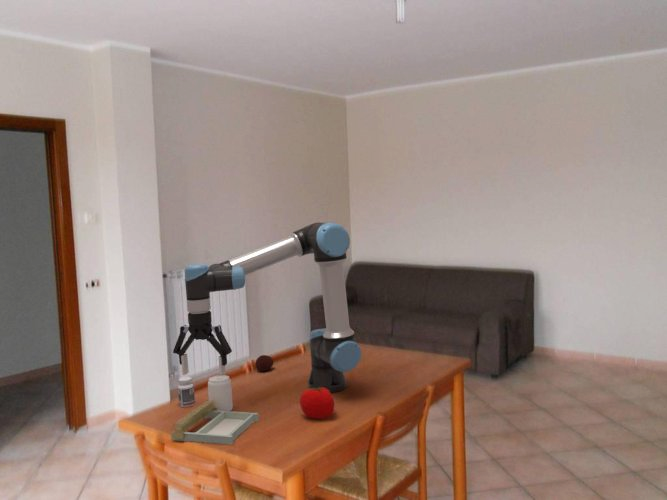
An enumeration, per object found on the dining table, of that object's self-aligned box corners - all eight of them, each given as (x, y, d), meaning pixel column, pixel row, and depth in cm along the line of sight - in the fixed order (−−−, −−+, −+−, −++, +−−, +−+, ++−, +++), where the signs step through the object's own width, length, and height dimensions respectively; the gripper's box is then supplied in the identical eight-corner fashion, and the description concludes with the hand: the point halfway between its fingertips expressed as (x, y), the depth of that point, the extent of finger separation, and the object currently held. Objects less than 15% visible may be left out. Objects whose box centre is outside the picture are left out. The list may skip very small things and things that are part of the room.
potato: (277, 368, 258) (276, 353, 257) (265, 374, 251) (264, 358, 250) (264, 366, 262) (263, 351, 261) (252, 372, 254) (251, 356, 254)
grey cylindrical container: (211, 408, 212) (209, 375, 211) (233, 406, 212) (231, 374, 211) (208, 416, 204) (206, 382, 203) (231, 414, 204) (229, 380, 203)
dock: (258, 420, 198) (258, 413, 197) (232, 444, 178) (231, 436, 178) (202, 416, 204) (202, 409, 203) (171, 440, 184) (170, 432, 184)
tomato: (325, 425, 191) (323, 394, 190) (293, 418, 198) (292, 389, 197) (343, 413, 200) (341, 384, 199) (312, 408, 207) (310, 379, 206)
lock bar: (217, 412, 203) (216, 400, 203) (183, 438, 182) (182, 425, 181) (207, 411, 204) (206, 399, 204) (171, 437, 183) (170, 424, 182)
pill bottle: (198, 402, 218) (196, 376, 217) (189, 408, 213) (187, 381, 212) (184, 401, 220) (182, 375, 219) (176, 406, 215) (174, 380, 214)
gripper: (238, 309, 193) (243, 371, 195) (171, 309, 200) (176, 370, 202) (229, 313, 186) (233, 378, 188) (159, 313, 193) (164, 376, 194)
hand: (204, 374), depth 195 cm, fingers open, 13 cm apart
